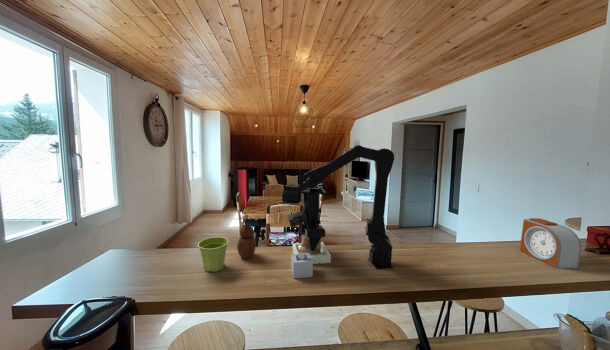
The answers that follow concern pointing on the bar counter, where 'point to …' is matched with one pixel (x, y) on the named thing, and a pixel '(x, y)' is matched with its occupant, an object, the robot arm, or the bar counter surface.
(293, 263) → the bored block
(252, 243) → the wooden figurine
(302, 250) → the cylinder
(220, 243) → the plant pot
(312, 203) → the robot arm
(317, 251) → the walnut block
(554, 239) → the alarm clock
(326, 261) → the tray
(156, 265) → the bar counter surface
